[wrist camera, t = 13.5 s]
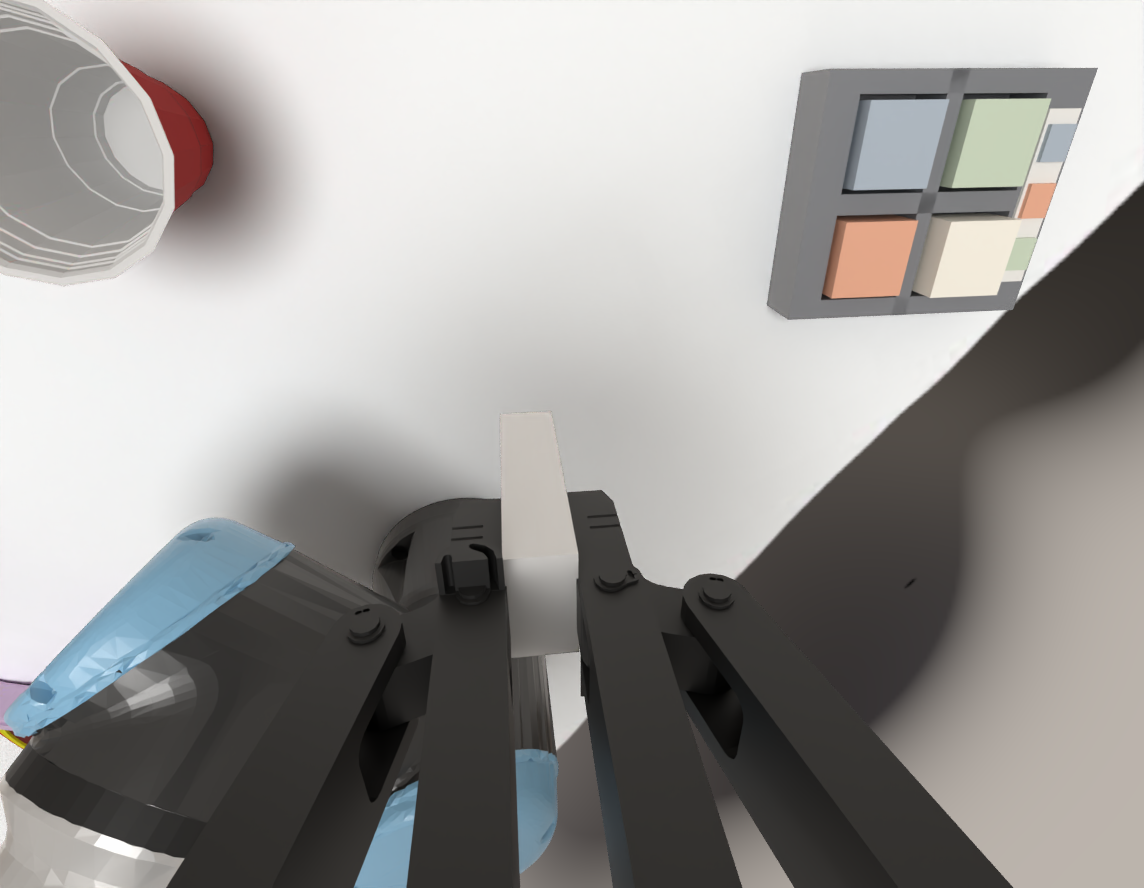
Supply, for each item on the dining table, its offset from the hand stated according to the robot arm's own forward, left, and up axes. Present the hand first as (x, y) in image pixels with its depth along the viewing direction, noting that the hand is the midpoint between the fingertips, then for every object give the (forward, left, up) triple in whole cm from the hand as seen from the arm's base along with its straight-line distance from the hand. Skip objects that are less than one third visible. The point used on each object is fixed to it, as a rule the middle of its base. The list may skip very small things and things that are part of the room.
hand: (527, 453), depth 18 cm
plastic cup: (+8, +19, -25) cm, 32 cm away
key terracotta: (+1, -23, -23) cm, 32 cm away
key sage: (+7, -29, -23) cm, 38 cm away
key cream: (+1, -29, -22) cm, 37 cm away
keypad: (+4, -26, -24) cm, 36 cm away
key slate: (+7, -23, -23) cm, 33 cm away
